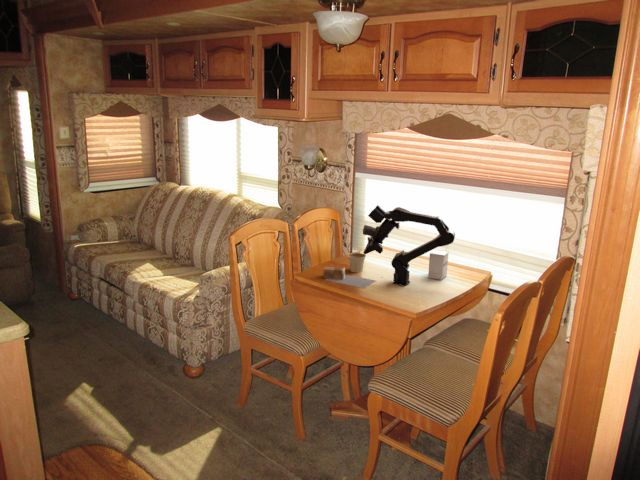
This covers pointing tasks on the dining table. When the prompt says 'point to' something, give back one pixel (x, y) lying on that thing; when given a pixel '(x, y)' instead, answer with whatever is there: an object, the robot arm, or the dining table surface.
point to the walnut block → (334, 273)
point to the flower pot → (356, 262)
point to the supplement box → (438, 265)
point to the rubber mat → (353, 281)
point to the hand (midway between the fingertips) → (364, 253)
